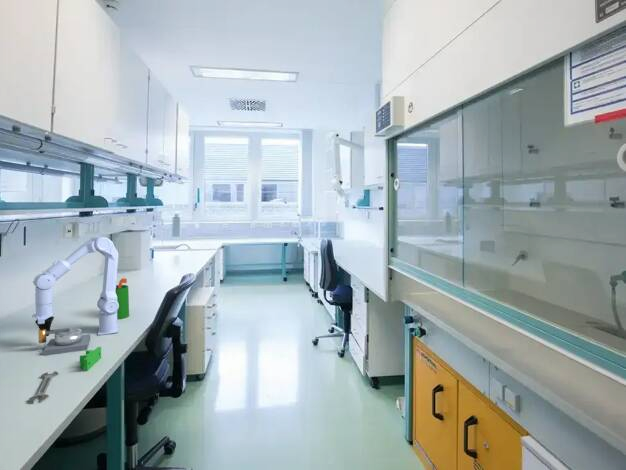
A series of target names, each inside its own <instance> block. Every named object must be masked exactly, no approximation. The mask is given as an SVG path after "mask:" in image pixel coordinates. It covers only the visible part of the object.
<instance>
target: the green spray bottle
mask: <svg viewBox="0 0 626 470" xmlns="http://www.w3.org/2000/svg"><path fill="white" fill-rule="evenodd" d="M127 283H128V278H124V277H123V278H121V279H120V280H119V281H118V284H116V290H115V292H116V295H117V302H118V304H119V308H118V310H117V320H123V319H125V318H128V317H129V316H130V301H129V299H130V297H129V285H125V284H127Z"/></svg>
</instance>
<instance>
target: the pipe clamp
mask: <svg viewBox="0 0 626 470" xmlns="http://www.w3.org/2000/svg"><path fill="white" fill-rule="evenodd" d="M101 359H102V347H101V346H98V347H96V348H95V349H89V350H88V349H87V350H85V354H82V355H80V356H79V368H80V369H83V372H88V371H89V370H91V368H93V367H94V365H96V364H97V363H98V362H99V361H100V360H101Z"/></svg>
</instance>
